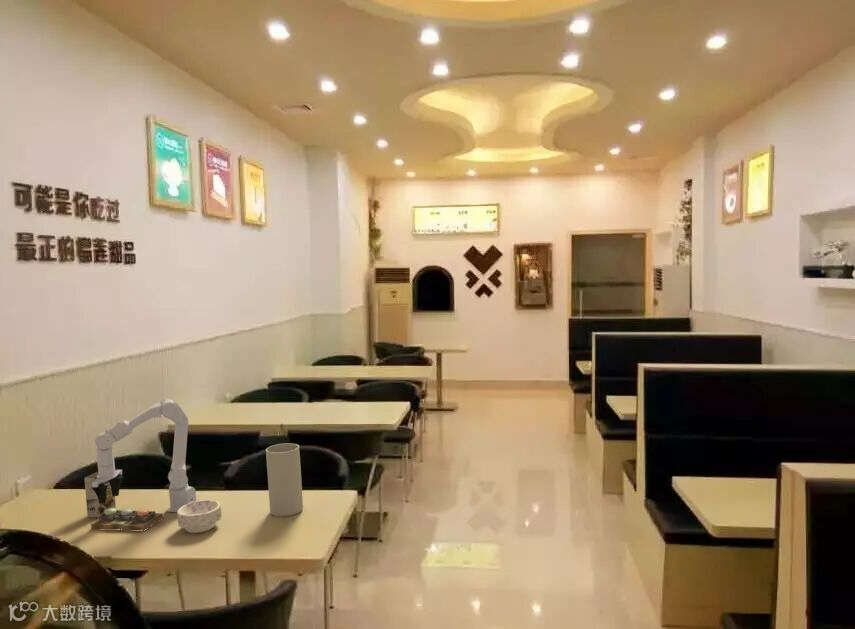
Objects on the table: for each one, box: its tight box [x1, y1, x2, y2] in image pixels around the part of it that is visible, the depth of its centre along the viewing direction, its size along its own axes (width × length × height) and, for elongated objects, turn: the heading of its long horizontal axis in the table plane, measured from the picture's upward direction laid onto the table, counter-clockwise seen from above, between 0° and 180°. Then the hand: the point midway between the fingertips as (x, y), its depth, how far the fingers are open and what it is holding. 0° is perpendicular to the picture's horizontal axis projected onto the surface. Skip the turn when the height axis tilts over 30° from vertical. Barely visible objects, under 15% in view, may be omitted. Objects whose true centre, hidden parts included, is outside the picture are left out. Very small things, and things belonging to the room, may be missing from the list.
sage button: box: [104, 508, 117, 516], centre depth 247 cm, size 4×4×2 cm
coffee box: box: [84, 471, 117, 519], centre depth 258 cm, size 9×6×16 cm
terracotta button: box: [137, 508, 150, 517], centre depth 244 cm, size 4×4×2 cm
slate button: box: [121, 508, 134, 516], centre depth 246 cm, size 4×4×2 cm
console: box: [90, 509, 164, 532], centre depth 246 cm, size 22×12×4 cm, turn 79°
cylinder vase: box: [265, 442, 304, 518], centre depth 250 cm, size 12×12×25 cm
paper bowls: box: [176, 499, 223, 534], centre depth 239 cm, size 15×15×8 cm
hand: (109, 499), depth 247 cm, fingers open, 7 cm apart
